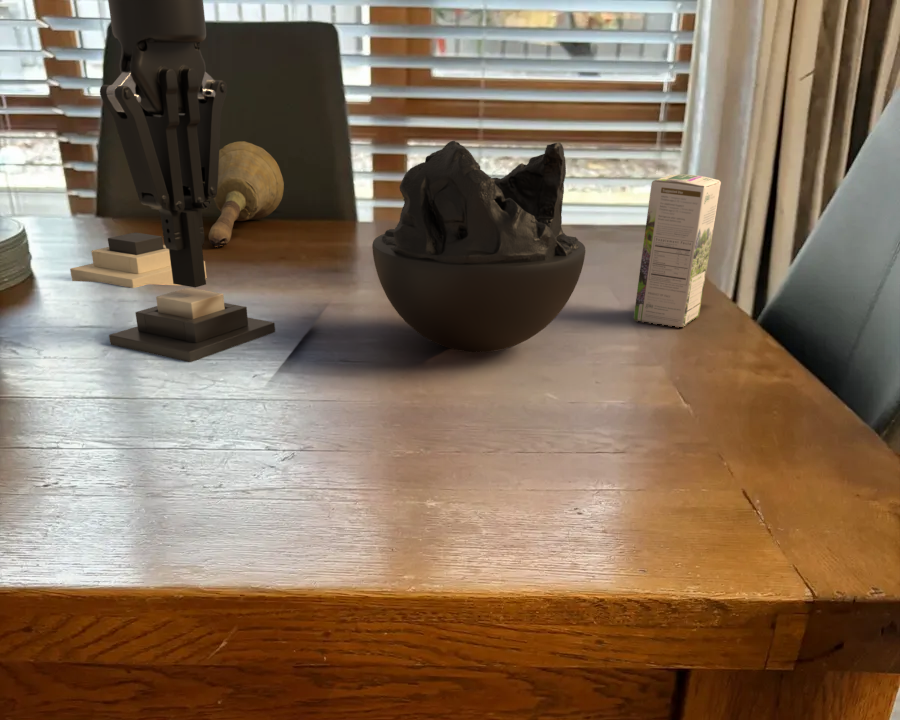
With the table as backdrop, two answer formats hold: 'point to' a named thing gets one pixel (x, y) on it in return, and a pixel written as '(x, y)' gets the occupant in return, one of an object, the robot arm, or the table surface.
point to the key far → (135, 243)
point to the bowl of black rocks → (480, 250)
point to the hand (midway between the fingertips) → (189, 283)
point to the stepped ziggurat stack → (127, 268)
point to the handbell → (244, 187)
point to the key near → (190, 303)
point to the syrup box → (676, 249)
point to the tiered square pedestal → (191, 333)
